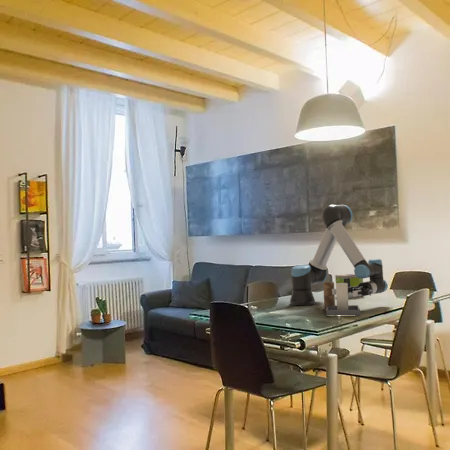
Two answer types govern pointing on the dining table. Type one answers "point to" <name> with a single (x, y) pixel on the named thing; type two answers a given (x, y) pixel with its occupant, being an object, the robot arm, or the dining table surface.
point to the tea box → (349, 281)
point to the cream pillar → (342, 296)
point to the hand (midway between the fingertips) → (342, 292)
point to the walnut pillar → (328, 294)
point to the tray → (352, 310)
